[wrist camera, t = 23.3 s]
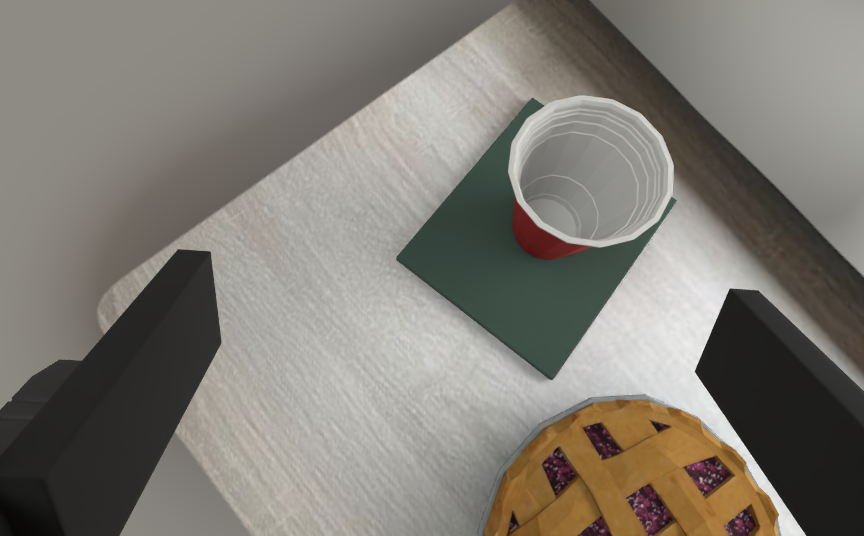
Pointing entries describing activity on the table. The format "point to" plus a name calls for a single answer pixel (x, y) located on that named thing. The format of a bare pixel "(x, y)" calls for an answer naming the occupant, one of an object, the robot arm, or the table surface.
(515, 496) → the pie
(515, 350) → the placemat
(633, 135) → the plastic cup
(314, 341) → the table surface
